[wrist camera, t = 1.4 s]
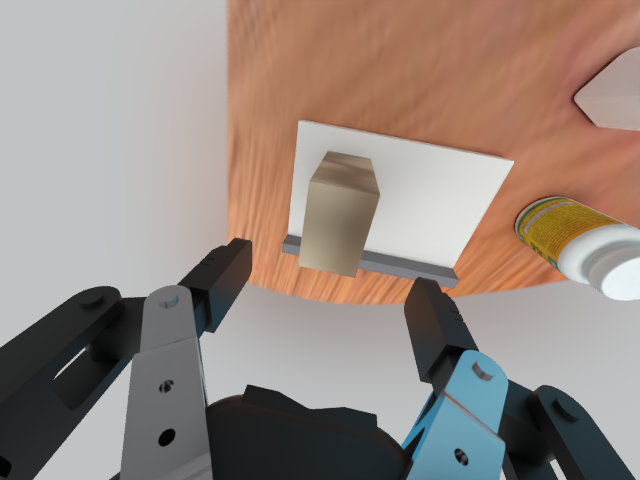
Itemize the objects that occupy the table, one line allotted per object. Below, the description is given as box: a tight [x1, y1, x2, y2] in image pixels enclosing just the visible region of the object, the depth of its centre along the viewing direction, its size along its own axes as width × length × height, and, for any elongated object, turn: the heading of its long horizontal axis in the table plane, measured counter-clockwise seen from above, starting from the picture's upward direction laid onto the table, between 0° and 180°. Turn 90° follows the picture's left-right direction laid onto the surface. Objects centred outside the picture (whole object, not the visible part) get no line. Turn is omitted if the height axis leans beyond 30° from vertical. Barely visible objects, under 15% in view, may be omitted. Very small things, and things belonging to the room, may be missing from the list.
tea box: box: [298, 151, 380, 278], centre depth 18 cm, size 4×6×10 cm
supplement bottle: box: [515, 196, 640, 301], centre depth 20 cm, size 5×5×10 cm
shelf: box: [282, 119, 515, 288], centre depth 23 cm, size 13×19×4 cm
